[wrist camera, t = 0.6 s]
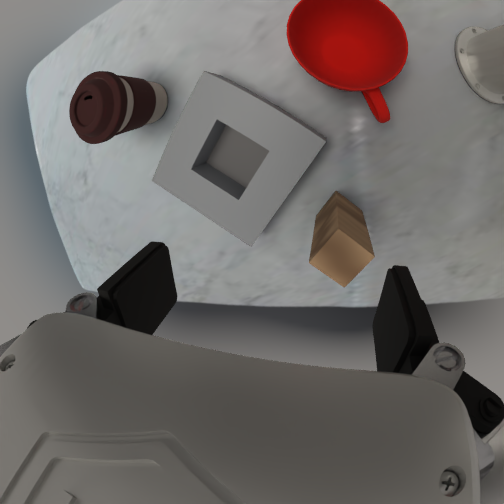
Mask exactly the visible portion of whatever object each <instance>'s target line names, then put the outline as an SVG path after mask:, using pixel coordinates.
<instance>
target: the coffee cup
mask: <svg viewBox="0 0 504 504" xmlns="http://www.w3.org/2000/svg"><path fill="white" fill-rule="evenodd" d="M166 107H167V94H166V92H165V90H164V88H163V87H162V86H161V85H159V84H157V83H155V82H149V81H146V80H144V79H139V78H133V77H126V76H119V75H116V74H114V73H112V72H106V71H98V72H94V73H91V74H90V75H88V76H87V77H85V78H84V79H83V80H82V81H81V83H80V84H79V86H78V87H77V89H76V91H75V93H74V95H73V97H72V100H71V103H70V120H71V123H72V126H73V127H74V129H75V131H76V133H77V134H78V136H79V137H80V138H81V139H82V140H83V141H85V142H87V143H90V144H98V143H101V142H105V141H107V140H109V139H111V138H112V137H114V136H115V135H118V134H121V133H124V132H127V131H131V130H134V129H137V128H140V127H142V126H144V125H146V124H150V123H153V122H155V121H157V120H158V119H160V118H161V117H162V115H163V114H164V112H165V110H166Z"/></svg>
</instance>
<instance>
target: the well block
mask: <svg viewBox="0 0 504 504" xmlns="http://www.w3.org/2000/svg"><path fill="white" fill-rule="evenodd" d="M325 143H326V137H324V136H323V135H321V134H320V133H318V132H317V131H315V130H314V129H312V128H311V127H309V126H308V125H306V124H305V123H303V122H302V121H300V120H299V119H297V118H295V117H294V116H292V115H291V114H289V113H287V112H286V111H284V110H283V109H281V108H279V107H278V106H276V105H274V104H272V103H271V102H269V101H267V100H266V99H264V98H262V97H260V96H258V95H257V94H255V93H253V92H251V91H249V90H248V89H246V88H244V87H242V86H240V85H238V84H236V83H234V82H232V81H230V80H228V79H226V78H224V77H222V76H220V75H217V74H213V73H210V72H206V71H204V72H203V73H202V75H201V77H200V79H199V81H198V82H197V84H196V86H195V88H194V90H193V92H192V94H191V96H190V97H189V99H188V101H187V103H186V105H185V107H184V109H183V111H182V113H181V115H180V117H179V120H178V122H177V124H176V126H175V128H174V130H173V132H172V134H171V137H170V139H169V141H168V143H167V146H166V148H165V150H164V153H163V155H162V157H161V160H160V162H159V164H158V167H157V169H156V172H155V174H154V177H153V179H152V181H153V182H155V183H156V184H158V185H159V186H161V187H162V188H164V189H165V190H167V191H168V192H170V193H171V194H173V195H174V196H176V197H177V198H179V199H180V200H182V201H183V202H185V203H186V204H188V205H189V206H191V207H192V208H194V209H195V210H197V211H198V212H200V213H201V214H203V215H204V216H206V217H207V218H209V219H210V220H212V221H213V222H215V223H216V224H218V225H219V226H221V227H222V228H224V229H225V230H227V231H228V232H230V233H231V234H233V235H234V236H236V237H237V238H239V239H240V240H242V241H243V242H245V243H246V244H248V245H249V246H251V247H252V245H253V244H254V243H255V241H256V240H257V238H258V237H259V235H260V234H261V233H262V231H263V230H264V228H265V227H266V226H267V224H268V223H269V221H270V220H271V219H272V217H273V216H274V214H275V213H276V211H277V210H278V209H279V207H280V206H281V204H282V203H283V202H284V200H285V199H286V197H287V196H288V195H289V193H290V192H291V190H292V189H293V187H294V186H295V185H296V183H297V182H298V180H299V179H300V178H301V176H302V175H303V173H304V172H305V171H306V169H307V168H308V166H309V165H310V164H311V162H312V161H313V159H314V158H315V157H316V155H317V154H318V152H319V151H320V150H321V148H322V147H323V145H324V144H325Z"/></svg>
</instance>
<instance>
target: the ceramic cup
mask: <svg viewBox="0 0 504 504" xmlns="http://www.w3.org/2000/svg"><path fill="white" fill-rule="evenodd" d="M287 38H288V43H289V46H290V49H291V51H292V53H293V55H294V57H295V58H296V60H297V61H298V63H299V64H300V65H301V66H302V67H303V68H304V69H305V70H306V71H307V72H308V73H309V74H310V75H311V76H313V77H314V78H316V79H317V80H318V81H320V82H322V83H324V84H326V85H328V86H330V87H333V88H336V89H339V90H346V91H362V93H363V95H364V97H365V99H366V101H367V103H368V105H369V107H370V109H371V111H372V113H373V115H374V116H375V118H376V119H377V120H378V122H380V123H385V122H387V121H389V120H390V113H389V109H388V107H387V104H386V102H385V100H384V98H383V96H382V94H381V91H380V89H379V87H380V86H383V85H385V84H387V83H388V82H390V81H391V80H393V79H394V78H395V77H396V76H397V75H398V74H399V73H400V71H401V70H402V68H403V66H404V64H405V62H406V59H407V54H408V41H407V37H406V33H405V30H404V28H403V26H402V24H401V22H400V21H399V19H398V18H397V16H396V15H395V14H394V13H393V12H392V11H391V10H390V9H389V8H388V7H387V6H386V5H385V4H383V3H382V2H381V1H379V0H301V1H300V2H299V3H298V4H297V5H296V6H295V7H294V9H293V11H292V12H291V14H290V16H289V20H288V23H287Z"/></svg>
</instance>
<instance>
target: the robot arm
mask: <svg viewBox="0 0 504 504" xmlns="http://www.w3.org/2000/svg"><path fill="white" fill-rule="evenodd" d="M460 52H461V53H460ZM455 53H456V59H457V63H458V65H459V68H460V71H461V73H462V74H463V76H464V78H465V80H466V81H467V83H468V84H469V85H470V87H471V88H472V89H473V90H474V91H475V92H476V93H477V94H478V95H479V96H480V97H482V98H483V99H485V100H487V101H489V102H491V103H496V104H504V25H501V26H499V27H496V28H493V29H491V30H486V29H483V28H480V27H468V28H466V29H464V30H463V31H461V32H460V33H459V35H458V37H457V39H456V43H455ZM97 290H98V293H99V296H98V297H96V296H95V295H94V294H93V293H87V292H86V293H81V294H78V295H76V296H74V297H73V298H72V299H70V300H69V302H68V303H67V306H66V311H65V312H63V313H52V314H48V315H45V316H43V317H41V318H40V319H38V320H35V321H33V322H32V323H30V325H29V326H28V328H27V329H26V330H25V332H23V333H22V334H21V335H19V336H17V337H15V338H13V339H11V340H10V341H8V342H6V343H4V344H2V345H1V346H0V504H503V503H504V404H503V402H502V400H501V399H500V398H499V397H498V396H497V395H496V394H495V393H493V392H492V391H491V390H489V389H488V388H487V387H485V386H484V385H482V384H481V383H480V382H478V381H477V380H475V379H474V378H473V377H471V376H470V375H468V374H467V373H466V372H464V371H463V370H464V367H465V358H464V355H463V354H462V352H461V351H460V350H459V349H458V348H457V347H455V346H453V345H451V344H449V343H439V340H438V337H437V334H436V332H435V329H434V326H433V324H432V321H431V318H430V315H429V313H428V310H427V307H426V305H425V303H424V301H423V300H421V298H420V295H419V293H418V290H417V288H416V286H415V283H414V281H413V279H412V276H411V274H410V272H409V269H408V267H406V266H396V265H394V266H393V267H392V269H390V268H389V269H388V271H387V275H386V279H385V282H384V286H383V290H382V294H381V297H380V301H379V304H378V307H377V311H376V314H375V317H374V321H373V335H374V343H375V353H376V362H377V371H366V370H354V369H341V368H329V367H319V366H310V365H302V364H294V363H287V362H279V361H273V360H266V359H260V358H254V357H248V356H243V355H237V354H232V353H227V352H222V351H216V350H212V349H207V348H202V347H198V346H194V345H189V344H185V343H181V342H177V341H172V340H169V339H164V338H161V337H157V336H153V335H152V334H153V333H154V332H155V330H156V329H157V327H158V326H159V325H160V323H161V322H162V321H163V319H164V318H165V317H166V315H167V314H168V312H169V311H170V310H171V308H172V307H173V306H174V304H175V303H176V301H177V292H176V287H175V282H174V277H173V272H172V266H171V260H170V255H169V249H168V247H167V246H165V244H164V243H162V242H150V243H149V244H148V245H147V246H145V247H144V248H143V249H142V250H141V251H139V252H138V253H137V254H136V255H135V256H134V257H132V258H131V259H130V260H129V261H128V262H127V263H125V264H124V265H123V266H122V267H121V268H120V269H119V270H118V271H116V272H115V273H114V274H113V275H112V276H111V277H110V278H109V279H107V280H106V281H105V282H104V283H103V284H102V285H101V286H100V287H99V288H98V289H97Z"/></svg>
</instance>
